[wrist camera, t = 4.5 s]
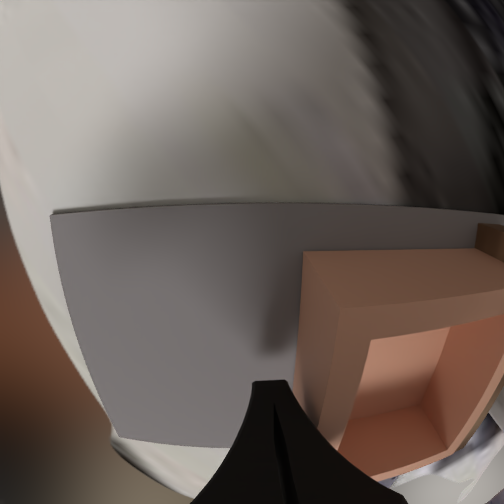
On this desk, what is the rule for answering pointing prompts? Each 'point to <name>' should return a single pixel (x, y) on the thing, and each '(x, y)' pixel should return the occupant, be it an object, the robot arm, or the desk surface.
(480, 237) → the end wall
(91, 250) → the mat
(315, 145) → the desk surface
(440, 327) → the socket block
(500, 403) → the eye dropper bottle
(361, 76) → the desk surface
